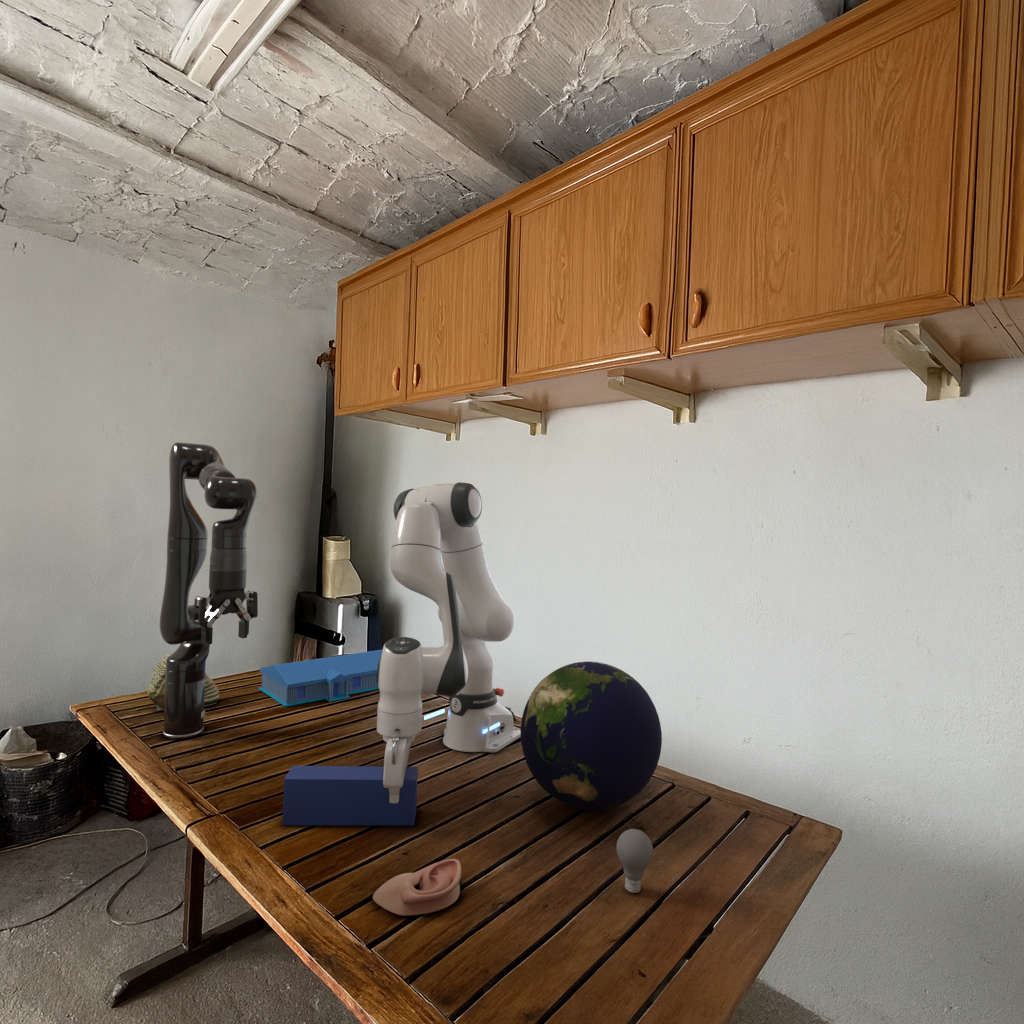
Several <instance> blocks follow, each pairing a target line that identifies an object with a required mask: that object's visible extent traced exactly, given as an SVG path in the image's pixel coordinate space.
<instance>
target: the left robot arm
mask: <svg viewBox="0 0 1024 1024" xmlns="http://www.w3.org/2000/svg"><path fill="white" fill-rule="evenodd" d="M168 461H169V462H168V468H169V469H168V471H169V474H168V475H169V478H168V479H169V514H168V524H167V538H166V567H165V578H164V579H165V580H164V589H163V595H162V602H161V610H160V613H159V614H160V615H159V632H160V636H161V638H162V640H163V641H164V642H165V643H166V644H168V645H173V646H174V645H175V646H176V645H179V646H178V647H177V648H176V649H175V651H174V652H173V653H170V654H169V655H170V656H169V657H168V658H167V660H166V674H165V705H164V710H163V730H162V737H164V738H166V739H169V740H185V739H190V738H191V739H192V738H194V737H197V736H199V735H202V734H203V732H204V730H205V729H204V727H205V725H204V722H205V721H204V718H205V715H206V709H205V706H204V693H205V672H206V664H207V663H206V662H207V659H208V657H209V653H210V647H211V645H212V644H213V636H214V635H213V634H214V628H213V626H214V623H215V622H216V621H217V620H219V619H220V617H221V616H224V615H228V614H235V615H236V616H237V617H238V618H239V620H238V633H237V635H238V638H241V639H246V638H247V637H248V635H249V634H250V621H251V620H252V619H254V618H257V617H258V616H259V606H258V605H259V603H258V602H259V601H258V592H257V591H253V590H247V591H245V589H246V588H247V571H248V555H247V537H248V527H249V523H250V519H251V515H252V513H253V510H254V506H255V504H256V502H257V501H256V500H257V496H258V489H257V486H256V484H255V483H254V481H253V480H251V479H249V478H245V477H244V478H243V477H241V478H240V477H236V475H234V473H232V472H231V471H230V470H229V469H228V468H227V467H226V466H225V463H224V461H223V459H222V457H221V454H220V452H219V451H218V450H217V449H216V447H214V446H213V445H209V444H204V443H203V444H202V443H192V442H182V441H181V442H180V441H178V442H174V443H173V444H172V446H171V448H170V451H169V460H168ZM186 480H197V481H198V483H199V485H200V487H201V488H202V490H203V491H204V501H205V504H206V505H207V506H208V507H210V508H212V509H215V510H235V511H236V512H235V513H234V515H232V517H230V518H227V519H222V520H217V521H215V522H214V523H213V524H212V528H211V548H210V549H211V550H210V554H209V571H208V573H209V574H208V589H209V594H208V596H199V595H198V596H195V597H194V602H193V603H194V604H190V605H189V600H190V593H191V589H192V585H193V583H194V582H195V580H196V578H197V576H198V574H199V573H200V571H201V569H202V567H203V565H204V563H205V561H206V559H207V553H208V540H209V539H208V537H209V536H208V535H209V533H208V529H207V526H206V524H205V521H204V520H203V519H202V517H201V515H200V514H199V512H198V511H197V510H196V508H195V506H194V505H193V503H192V501H191V499H190V497H189V495H188V491H187V487H186ZM245 601H246V607H245V605H244V604H243V603H244V602H245ZM209 605H210V606H209ZM208 606H209V607H208ZM207 607H208V609H207ZM207 676H208V677H209V675H208V674H207Z"/></svg>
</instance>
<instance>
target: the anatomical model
mask: <svg viewBox="0 0 1024 1024" xmlns="http://www.w3.org/2000/svg"><path fill="white" fill-rule="evenodd" d="M461 879H462V864H461V862H460V860H459V859H457V858H448V859H447V858H446V859H444V860H443V859H442V860H440V861H437V862H435V863H432V864H430V865H428V866H425V867H423V868H421V869H419V870H417V871H414V872H404V873H401V874H397V875H395V876H393V877H392V878H390V879H388V880H387V881H385V882H384V883H383V884H382V885H381V886H379V887H378V888H377V890H376V891H375V892H374V893H373V895H372V900H373V902H374V903H376V904H377V905H378V906H380V907H381V908H382V909H384V910H386V911H388V912H390V913H392V914H394V915H397V916H403V917H404V916H405V917H407V916H417V915H423V914H430V913H435V912H437V911H441V910H444V909H445V908H448V907H450V906H451V905H452V904H455V902H456V901H457V900H458V899H459V897H460V893H461V885H460V881H461Z"/></svg>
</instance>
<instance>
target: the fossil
mask: <svg viewBox="0 0 1024 1024" xmlns="http://www.w3.org/2000/svg"><path fill="white" fill-rule="evenodd" d="M170 655H171V654H165V655H164V656H163V657H162V658H161V659H160V660H159V662H158V663H157V666H156V667H155V669H154V670H153V672H152V675H151V677H150V680H149V684H148V688H147V697H148V699H149V700H150V701H152V703H153V704H154V706H155V711H158V712H159V711H162V712H163V711H164V705H165V674H166V660H167V658H168V657H169V656H170ZM207 675H208V674H207V672H206V671H205V693H204V707H207V706H213V705H215V704H217V703H218V701H219V699H220V698H221V696H220V690H219V688H218V686H217V685H216V683H215V682H214V681H213V679H212V678H211V677H209V675H208V676H207Z"/></svg>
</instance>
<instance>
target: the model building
mask: <svg viewBox="0 0 1024 1024" xmlns="http://www.w3.org/2000/svg"><path fill="white" fill-rule="evenodd" d="M382 651H383V649H376V650H368V651H363V652H356V653H349V654H342V655H341V654H340V655H335V656H329V657H328V656H327V657H321V658H315V659H314V658H313V659H307V660H300V661H293V662H287V663H278V664H272V665H268V666H264V667H263V666H262V667H260V668H259V672H260V673H261V686H260V687H258V690H260V691H261V692H262V693H264V694H265V695H267V696H268V697H270V698H271V699H273V700H274V701H276V702H277V703H279V704H280V705H282V706H283V707H290V706H297V705H302V704H307V703H312V702H317V701H323V700H325V701H327V702H329V703H330V702H335V701H341V700H346V699H347V700H348V699H350V698H351V695H353V694H359V693H364V692H365V693H366V692H369V691H373V690H379V686H378V684H377V664H378V660H379V658H380V657H381V656H382Z"/></svg>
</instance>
